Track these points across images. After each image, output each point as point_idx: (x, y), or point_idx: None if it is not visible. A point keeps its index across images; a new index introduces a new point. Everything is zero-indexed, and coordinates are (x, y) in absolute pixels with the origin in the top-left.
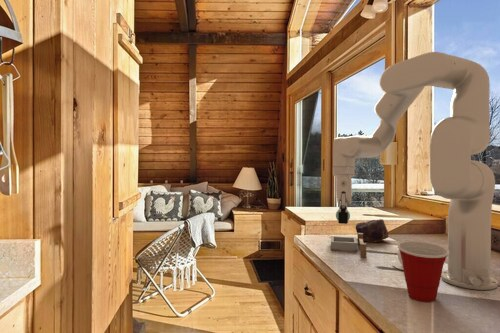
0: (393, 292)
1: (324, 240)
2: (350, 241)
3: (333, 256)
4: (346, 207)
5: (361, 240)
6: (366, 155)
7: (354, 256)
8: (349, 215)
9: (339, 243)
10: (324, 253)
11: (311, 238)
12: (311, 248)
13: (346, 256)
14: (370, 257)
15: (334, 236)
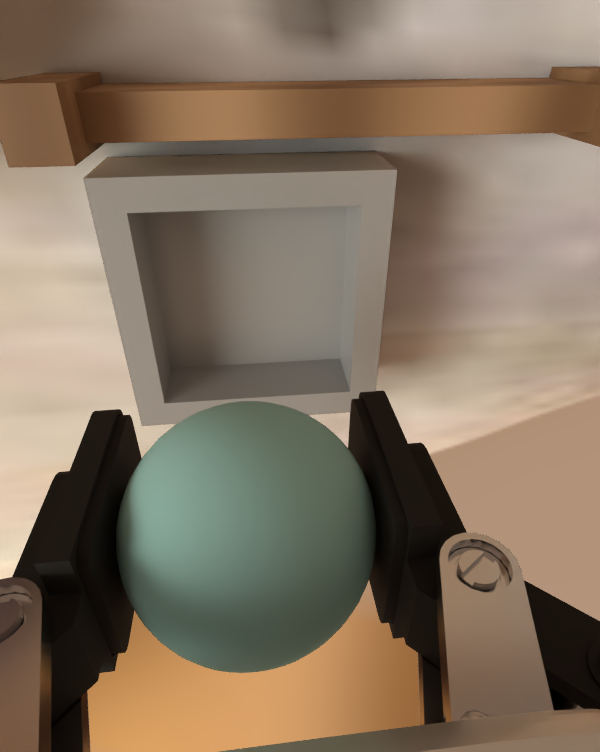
0: None
1: (32, 437)
2: (139, 233)
3: (528, 339)
4: (532, 655)
5: (245, 111)
6: None
7: (535, 183)
8: (302, 447)
9: (378, 340)
10: (450, 398)
11: (14, 519)
12: None
13: (532, 250)
14: (579, 16)
15: (138, 401)
